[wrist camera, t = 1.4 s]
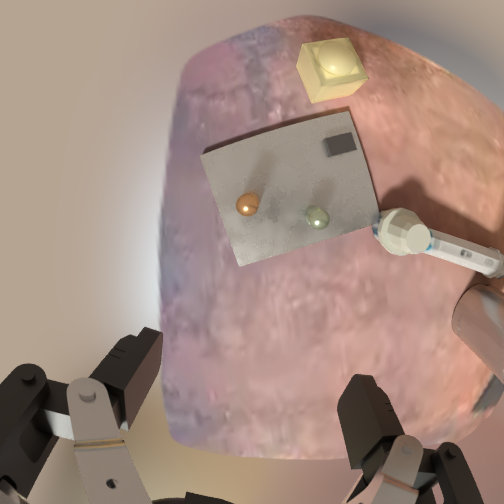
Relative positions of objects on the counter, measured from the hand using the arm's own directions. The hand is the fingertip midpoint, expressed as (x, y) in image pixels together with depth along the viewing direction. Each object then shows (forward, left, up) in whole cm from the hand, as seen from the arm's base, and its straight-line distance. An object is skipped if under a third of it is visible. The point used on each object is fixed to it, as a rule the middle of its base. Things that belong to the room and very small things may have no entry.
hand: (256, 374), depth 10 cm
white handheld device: (-24, +8, -22) cm, 34 cm away
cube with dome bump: (-13, -16, -22) cm, 30 cm away
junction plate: (-5, -5, -22) cm, 23 cm away
